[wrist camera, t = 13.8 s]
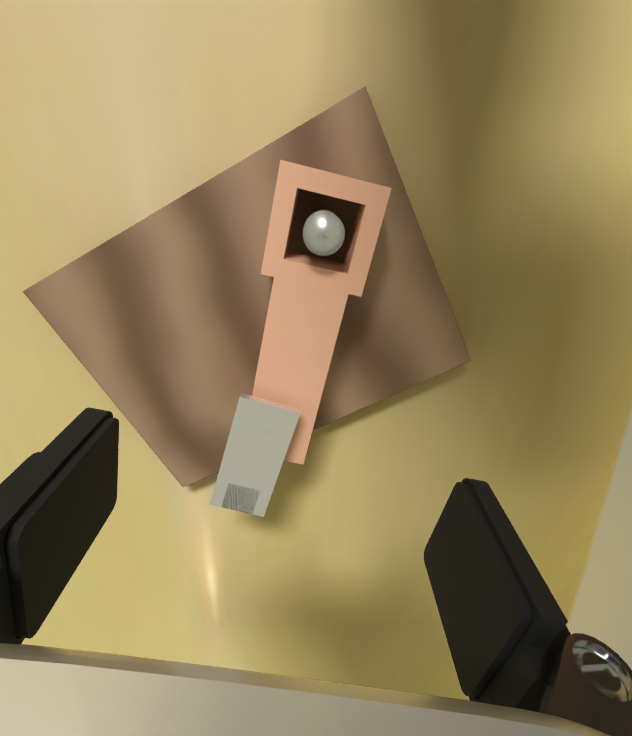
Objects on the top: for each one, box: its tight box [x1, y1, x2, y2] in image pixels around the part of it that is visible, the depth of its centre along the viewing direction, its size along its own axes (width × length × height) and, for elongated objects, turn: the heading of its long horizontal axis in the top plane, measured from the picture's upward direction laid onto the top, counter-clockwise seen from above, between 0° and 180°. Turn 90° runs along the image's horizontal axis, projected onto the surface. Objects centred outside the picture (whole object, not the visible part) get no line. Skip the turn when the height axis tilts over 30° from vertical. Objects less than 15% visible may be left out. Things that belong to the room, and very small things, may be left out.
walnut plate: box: [23, 87, 471, 487], centre depth 26 cm, size 23×17×2 cm
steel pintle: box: [303, 208, 345, 256], centre depth 21 cm, size 2×2×4 cm
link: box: [252, 160, 391, 464], centre depth 24 cm, size 17×5×4 cm, turn 167°
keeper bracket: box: [210, 393, 300, 517], centre depth 27 cm, size 8×4×6 cm, turn 162°
